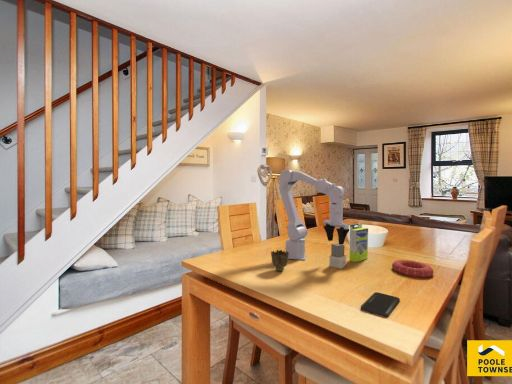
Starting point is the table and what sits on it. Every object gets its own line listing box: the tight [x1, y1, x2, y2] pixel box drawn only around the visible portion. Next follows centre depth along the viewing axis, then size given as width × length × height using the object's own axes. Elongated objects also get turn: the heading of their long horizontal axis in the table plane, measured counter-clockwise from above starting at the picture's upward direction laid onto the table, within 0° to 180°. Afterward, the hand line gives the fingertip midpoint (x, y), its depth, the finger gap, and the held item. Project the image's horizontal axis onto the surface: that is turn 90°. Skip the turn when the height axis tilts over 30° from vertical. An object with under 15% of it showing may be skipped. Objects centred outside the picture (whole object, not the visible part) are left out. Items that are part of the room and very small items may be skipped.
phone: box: [360, 291, 401, 318], centre depth 86 cm, size 8×1×15 cm
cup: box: [270, 249, 289, 272], centre depth 119 cm, size 8×7×8 cm
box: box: [349, 222, 369, 263], centre depth 135 cm, size 10×4×17 cm, turn 128°
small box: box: [329, 254, 347, 269], centre depth 125 cm, size 6×6×5 cm
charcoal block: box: [330, 242, 345, 257], centre depth 125 cm, size 4×4×5 cm
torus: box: [391, 259, 434, 279], centre depth 117 cm, size 16×14×4 cm
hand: (335, 242), depth 127 cm, fingers open, 7 cm apart
